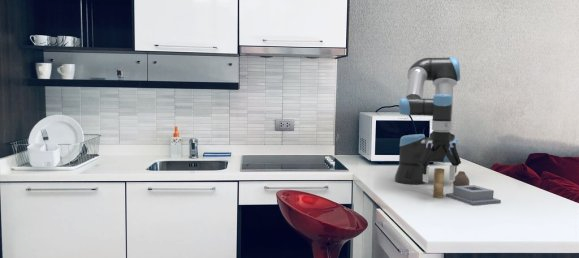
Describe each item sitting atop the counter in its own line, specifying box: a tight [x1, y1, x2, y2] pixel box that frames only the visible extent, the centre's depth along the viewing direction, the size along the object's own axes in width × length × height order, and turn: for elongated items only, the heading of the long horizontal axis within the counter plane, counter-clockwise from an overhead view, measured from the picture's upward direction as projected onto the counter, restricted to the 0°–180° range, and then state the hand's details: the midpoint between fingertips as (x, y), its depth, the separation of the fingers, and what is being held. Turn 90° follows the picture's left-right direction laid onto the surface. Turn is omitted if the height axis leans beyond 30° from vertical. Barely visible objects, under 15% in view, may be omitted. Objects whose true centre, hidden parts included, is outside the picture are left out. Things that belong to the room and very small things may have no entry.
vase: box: [452, 170, 470, 187], centre depth 202 cm, size 7×7×9 cm
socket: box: [445, 184, 502, 206], centre depth 186 cm, size 16×14×5 cm
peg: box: [432, 167, 445, 199], centre depth 189 cm, size 4×4×12 cm
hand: (438, 181), depth 189 cm, fingers open, 13 cm apart
